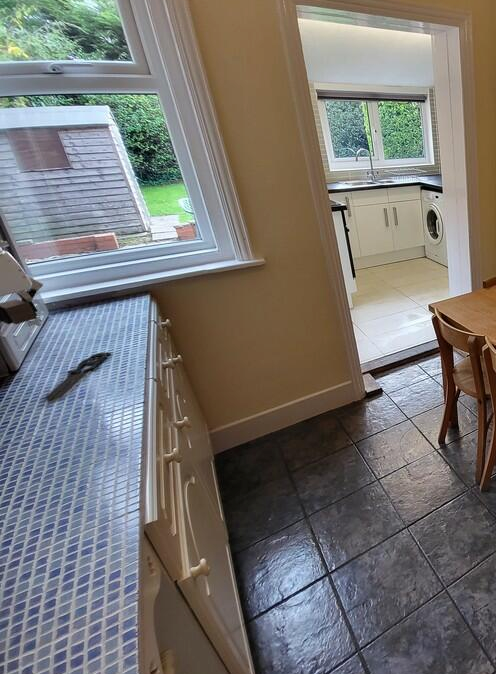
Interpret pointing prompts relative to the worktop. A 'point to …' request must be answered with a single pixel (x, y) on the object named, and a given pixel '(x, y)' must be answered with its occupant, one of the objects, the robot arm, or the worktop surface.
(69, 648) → the worktop surface
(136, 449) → the worktop surface
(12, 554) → the worktop surface
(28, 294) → the robot arm
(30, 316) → the walnut bar
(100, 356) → the knife
